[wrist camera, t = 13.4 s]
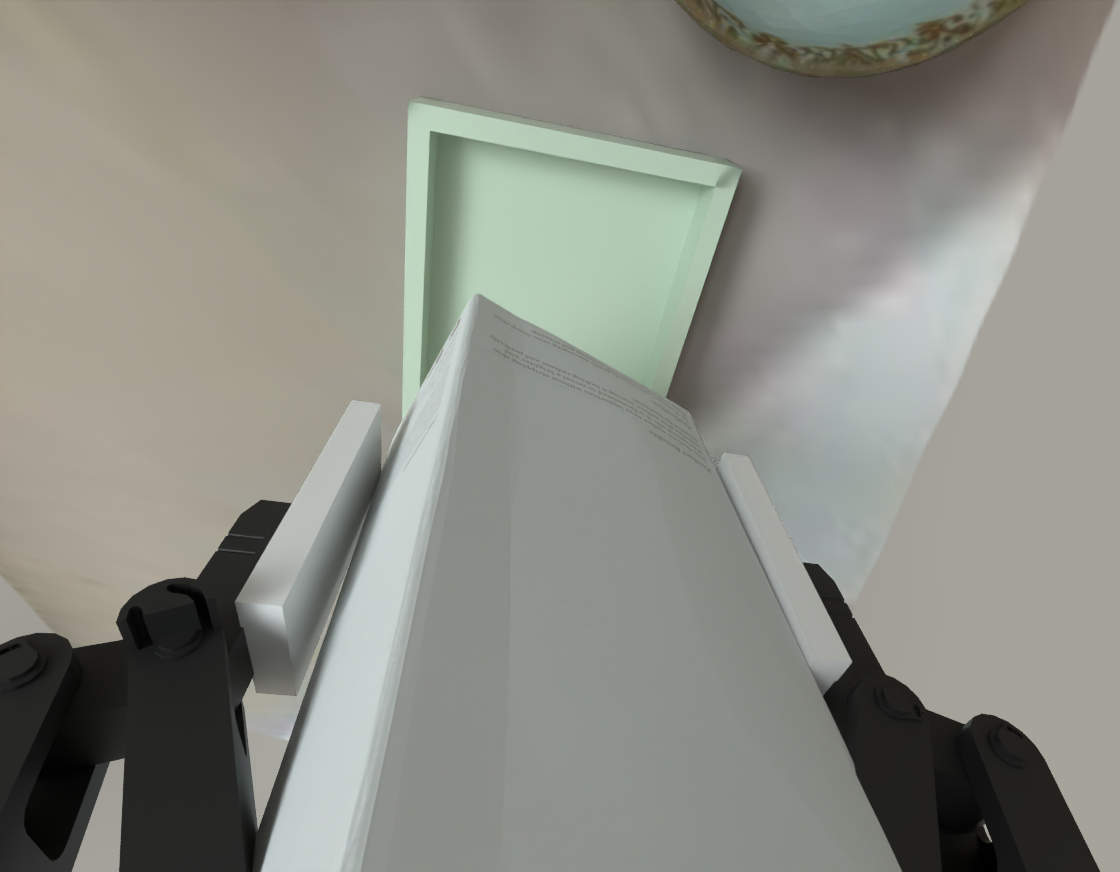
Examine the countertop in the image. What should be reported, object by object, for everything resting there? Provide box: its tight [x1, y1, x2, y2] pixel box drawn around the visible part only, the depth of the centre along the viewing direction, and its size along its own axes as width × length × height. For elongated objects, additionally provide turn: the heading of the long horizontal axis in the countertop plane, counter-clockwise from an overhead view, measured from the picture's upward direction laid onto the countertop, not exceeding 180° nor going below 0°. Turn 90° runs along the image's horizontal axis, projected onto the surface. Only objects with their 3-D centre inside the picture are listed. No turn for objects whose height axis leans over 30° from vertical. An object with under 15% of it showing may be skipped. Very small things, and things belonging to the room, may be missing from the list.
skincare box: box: [252, 293, 902, 872], centre depth 12 cm, size 8×6×15 cm
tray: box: [402, 97, 742, 420], centre depth 25 cm, size 13×15×2 cm
